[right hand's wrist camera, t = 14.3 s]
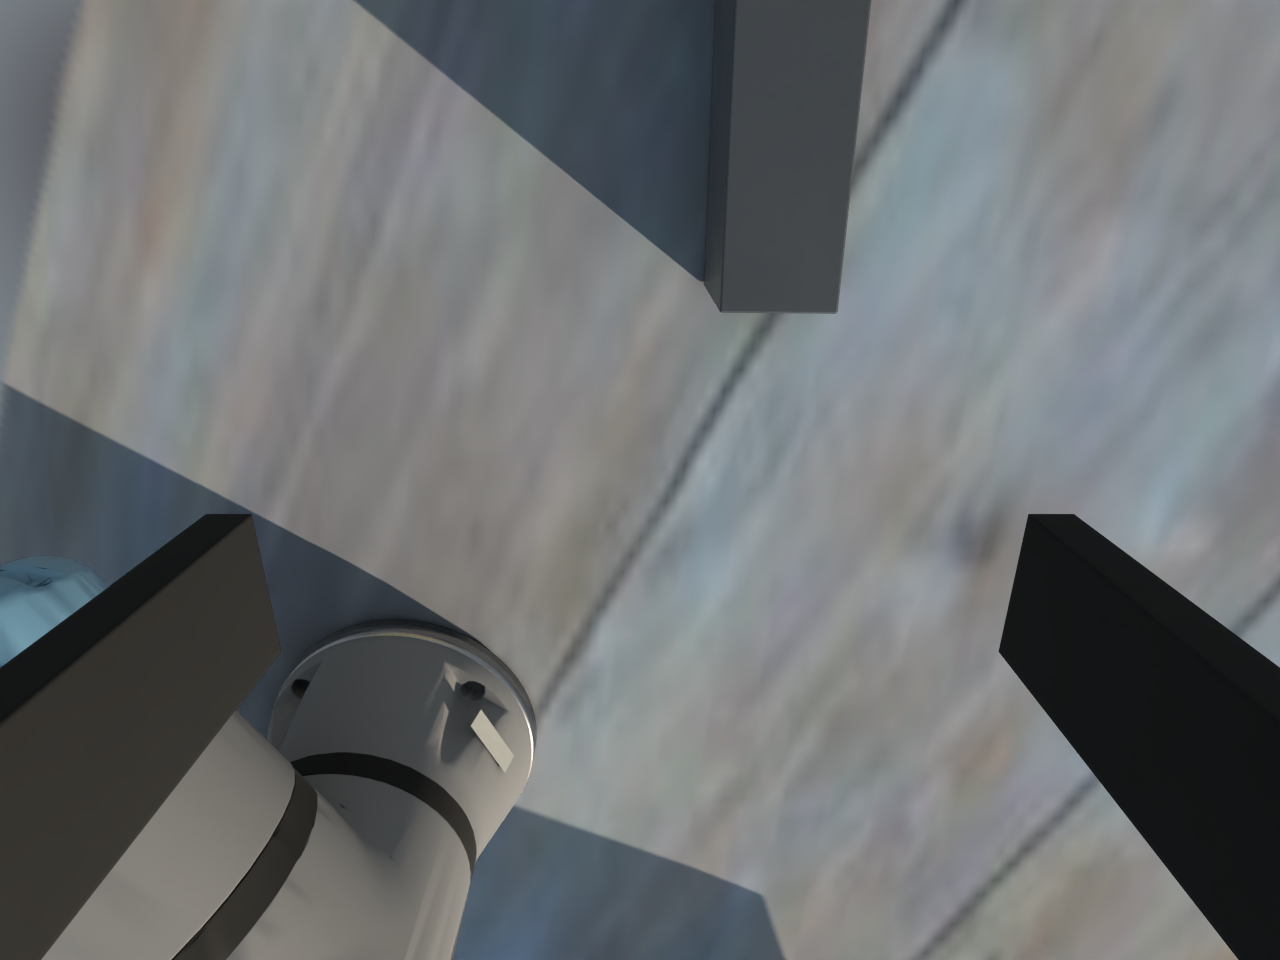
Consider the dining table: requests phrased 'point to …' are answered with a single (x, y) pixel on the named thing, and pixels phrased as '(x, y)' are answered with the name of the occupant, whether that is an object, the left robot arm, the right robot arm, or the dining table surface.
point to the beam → (782, 151)
